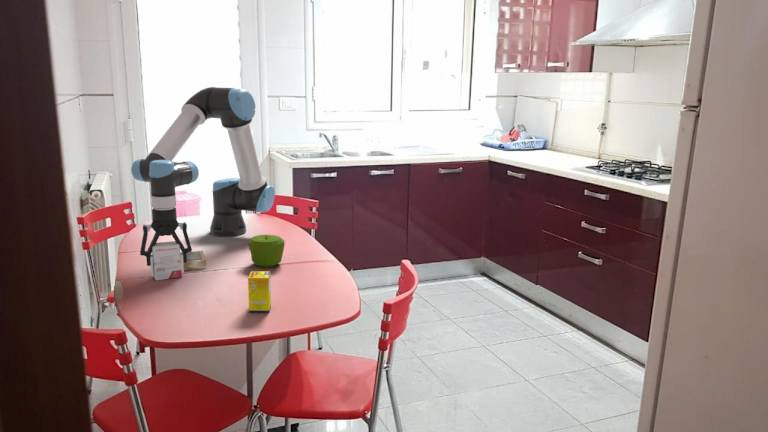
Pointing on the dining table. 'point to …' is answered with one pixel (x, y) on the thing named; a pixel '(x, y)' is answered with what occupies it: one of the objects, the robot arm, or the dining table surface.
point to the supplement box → (259, 291)
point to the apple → (266, 250)
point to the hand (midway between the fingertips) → (167, 273)
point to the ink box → (166, 260)
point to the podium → (195, 260)
